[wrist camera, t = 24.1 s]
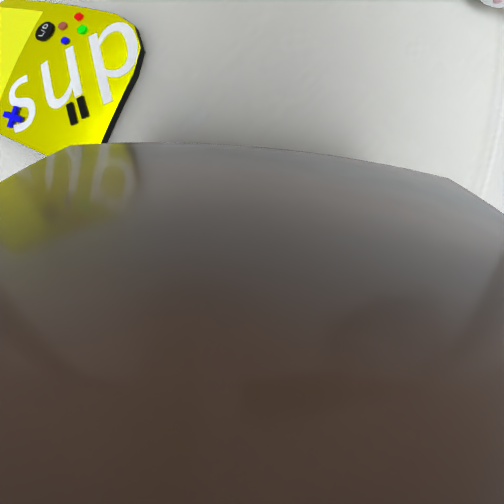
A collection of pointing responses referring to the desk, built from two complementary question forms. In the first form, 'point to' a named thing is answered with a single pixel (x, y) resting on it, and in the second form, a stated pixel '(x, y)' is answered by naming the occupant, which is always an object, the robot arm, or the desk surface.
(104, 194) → the lid
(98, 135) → the game console
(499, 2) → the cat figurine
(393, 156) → the desk surface
